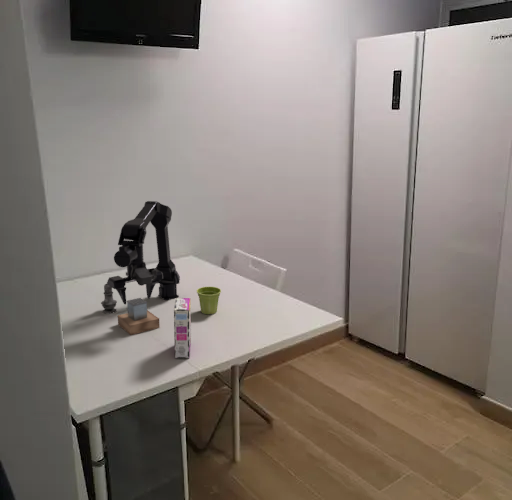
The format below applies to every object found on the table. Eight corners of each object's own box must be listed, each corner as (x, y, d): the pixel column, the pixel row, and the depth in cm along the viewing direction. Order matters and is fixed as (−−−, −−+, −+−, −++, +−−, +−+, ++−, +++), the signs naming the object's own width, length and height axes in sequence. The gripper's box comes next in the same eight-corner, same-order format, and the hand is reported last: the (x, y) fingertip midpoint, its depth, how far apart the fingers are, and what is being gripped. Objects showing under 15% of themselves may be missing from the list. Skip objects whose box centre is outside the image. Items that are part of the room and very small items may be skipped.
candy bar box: (190, 358, 164) (189, 309, 159) (174, 359, 163) (173, 310, 159) (191, 343, 175) (190, 297, 170) (176, 343, 174) (175, 297, 170)
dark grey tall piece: (113, 314, 198) (111, 284, 195) (98, 313, 199) (96, 283, 196) (120, 308, 203) (118, 279, 200) (106, 307, 205) (104, 278, 201)
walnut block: (146, 319, 195) (145, 309, 194) (159, 328, 187) (159, 318, 186) (118, 325, 189) (117, 315, 188) (130, 336, 180) (130, 325, 179)
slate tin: (140, 313, 190) (140, 297, 189) (147, 317, 186) (146, 301, 185) (127, 316, 187) (126, 300, 185) (134, 321, 183) (133, 305, 182)
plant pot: (225, 309, 204) (225, 288, 202) (213, 318, 196) (213, 296, 194) (204, 305, 208) (204, 285, 206) (192, 313, 200) (191, 292, 197)
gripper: (120, 269, 169) (122, 314, 173) (170, 259, 181) (171, 302, 185) (105, 261, 178) (108, 304, 182) (154, 253, 189) (156, 293, 193)
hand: (137, 301), depth 185 cm, fingers open, 9 cm apart
